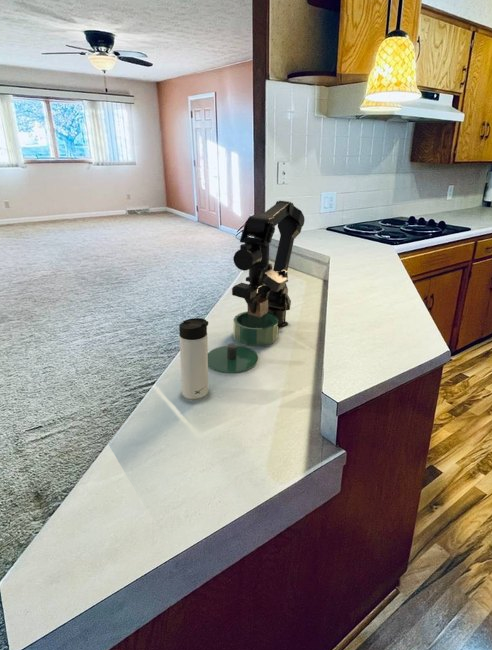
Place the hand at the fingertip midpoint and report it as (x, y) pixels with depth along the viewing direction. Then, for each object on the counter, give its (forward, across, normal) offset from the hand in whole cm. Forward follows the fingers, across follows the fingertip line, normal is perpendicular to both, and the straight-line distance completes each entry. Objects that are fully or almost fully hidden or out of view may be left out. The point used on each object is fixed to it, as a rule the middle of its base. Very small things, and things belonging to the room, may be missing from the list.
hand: (257, 310), depth 124 cm
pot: (+11, +2, +2) cm, 11 cm away
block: (+1, 0, 0) cm, 1 cm away
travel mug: (+10, -32, -3) cm, 34 cm away
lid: (+10, -14, -1) cm, 17 cm away
